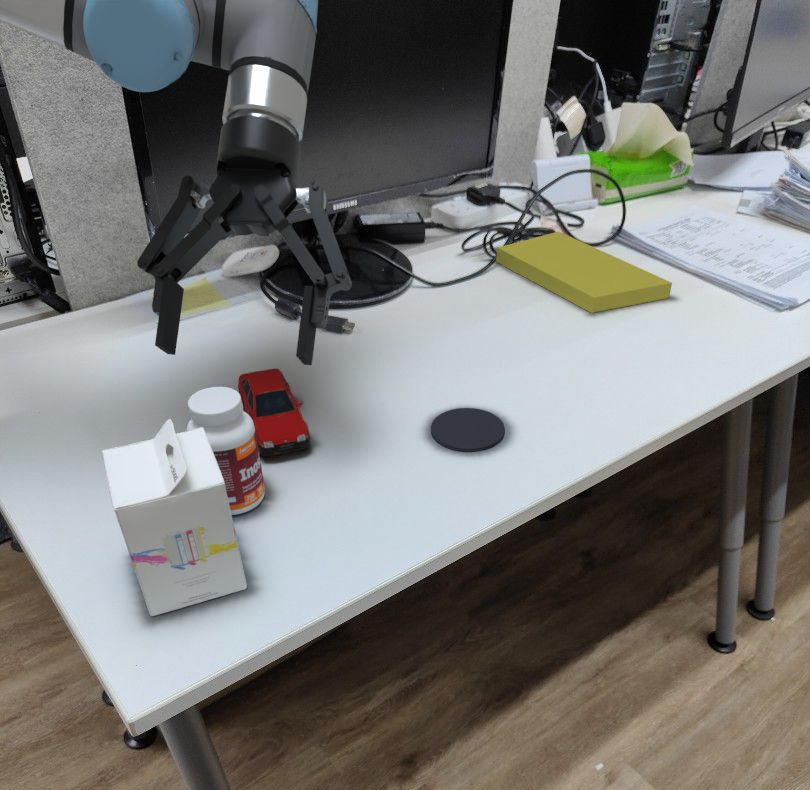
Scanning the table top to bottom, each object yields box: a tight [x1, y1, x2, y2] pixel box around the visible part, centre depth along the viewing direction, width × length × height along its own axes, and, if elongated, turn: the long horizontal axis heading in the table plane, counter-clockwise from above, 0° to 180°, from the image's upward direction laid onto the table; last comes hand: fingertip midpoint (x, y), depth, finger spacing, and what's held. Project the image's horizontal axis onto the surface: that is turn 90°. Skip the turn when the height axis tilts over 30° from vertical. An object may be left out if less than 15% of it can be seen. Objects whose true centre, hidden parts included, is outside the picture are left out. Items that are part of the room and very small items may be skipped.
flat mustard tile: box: [495, 231, 673, 314], centre depth 111 cm, size 12×2×24 cm
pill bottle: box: [185, 386, 266, 516], centre depth 71 cm, size 6×6×11 cm
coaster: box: [430, 407, 506, 453], centre depth 83 cm, size 8×8×1 cm
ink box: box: [101, 418, 248, 617], centre depth 62 cm, size 9×8×13 cm
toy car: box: [237, 367, 311, 457], centre depth 83 cm, size 6×14×5 cm, turn 19°
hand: (233, 355), depth 71 cm, fingers open, 13 cm apart
